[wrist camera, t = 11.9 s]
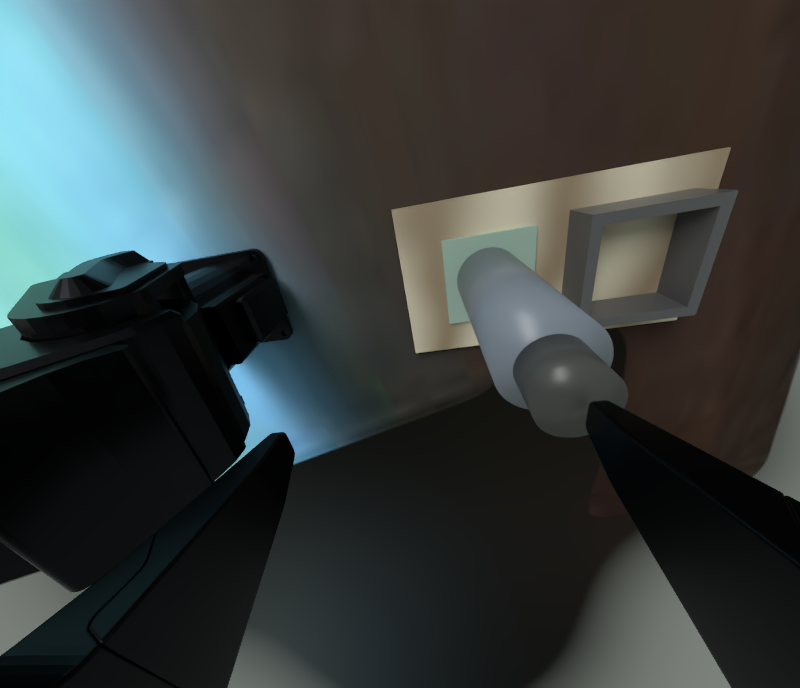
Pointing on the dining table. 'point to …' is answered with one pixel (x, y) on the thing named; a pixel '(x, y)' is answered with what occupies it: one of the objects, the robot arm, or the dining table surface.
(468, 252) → the pad
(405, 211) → the board
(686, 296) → the gray square frame
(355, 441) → the dining table surface
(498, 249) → the capped bottle
